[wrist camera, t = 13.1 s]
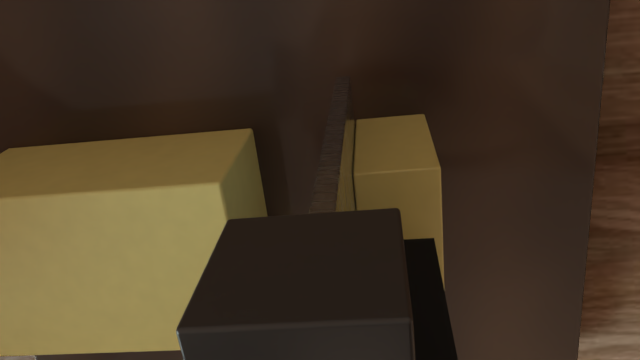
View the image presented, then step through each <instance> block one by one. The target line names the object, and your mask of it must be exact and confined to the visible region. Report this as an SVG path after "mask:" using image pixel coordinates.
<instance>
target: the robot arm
mask: <svg viewBox="0 0 640 360" xmlns="http://www.w3.org/2000/svg"><path fill="white" fill-rule="evenodd" d="M404 247H405V255H406V264H407V272H408V281H409V289H410V298H411V306H412V314H413V325H414V342H415V359H416V360H458V358H457V353H456V348H455V342H454V337H453V332H452V327H451V322H450V317H449V312H448V307H447V301H446V296H445V291H444V286H443V281H442V276H441V271H440V266H439V261H438V255H437V250H436V245H435V240H434V238H422V239H404Z"/></svg>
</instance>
